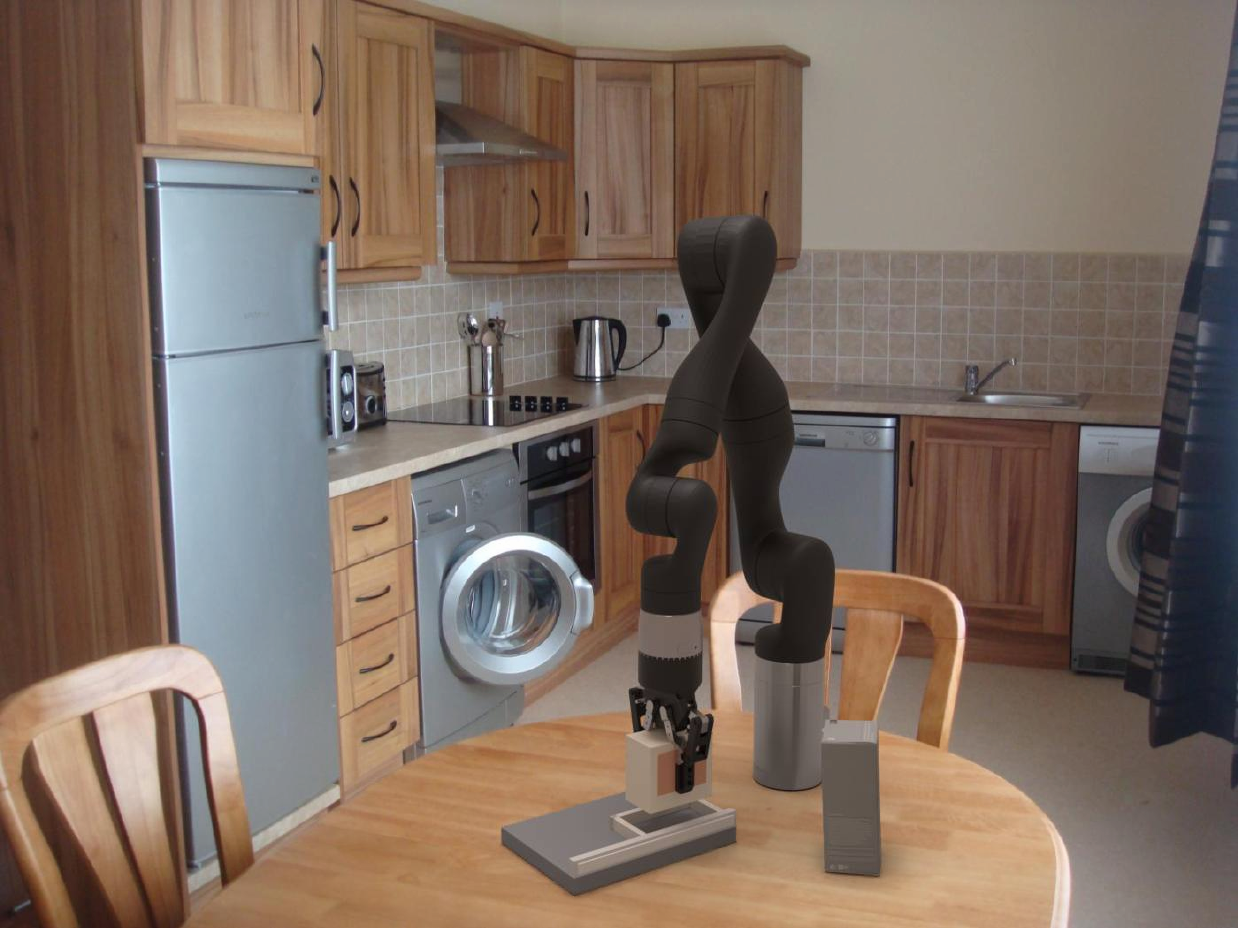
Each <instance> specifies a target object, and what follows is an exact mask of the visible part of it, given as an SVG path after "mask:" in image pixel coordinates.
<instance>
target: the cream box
mask: <svg viewBox="0 0 1238 928" xmlns="http://www.w3.org/2000/svg"><path fill="white" fill-rule="evenodd" d="M686 732H687V729H686V730H685V731H681V732H677V733H676V735H677V736H681V735H685V734H686ZM713 735H714V734H713V731H712V734H711V740H710V746H709V752H708V757H707V759H706V760H703V761H699V762H695V769H694V787H693V790H692V791H691V792H687V793H684V794H679V793H677V792H676V791H675V763H677V762H676V760H675V751H674V745H672V744H671V743H670V742H668V739H667V734H666V731H665V730H664V729H663V728H660V729H656V730H652V731H646V730H644V731H640V732H636V733H634V732H632V733H628V734H625V791H626V800H627V801H629V802H631V803H632V804H634V805H636V806H637V807H639V808H641V809H642V810H644V811H646V812H647V813H649V814H652V813H656V812H659V811H663V810H666V809H670V808H673V807H676V806H680V805H683V804H687V803H690V802H694V801H697V800H701V799H704V800H705V799H707V798H711V797H712V796H713V794H712V791H713V737H714V736H713ZM686 746H687V741H686V742H683V743H682V749H683V753H684V752H686ZM697 750H699V746H698V747H697Z"/></svg>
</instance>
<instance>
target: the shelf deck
mask: <svg viewBox="0 0 1238 928" xmlns="http://www.w3.org/2000/svg"><path fill="white" fill-rule="evenodd" d="M500 831H501V833H500V834H501V839H500V840H501V844H502V845H504V846H505V847H506V848H508V849H509V850H511V851H512V852H513V853H515V854H516V855H517V856H519V857H520V858H522V859H523V860H524V861H526V862H527V863H529V864H530V865H532V866H533V867H534V868H536V870H538V871H539V872H541V873H542V874H544V875H545V876H547V877H548V878H549V879H551V880H552V881H553V882H554V883H556V884H557V885H559V886H560V887H562V888H563V889H564V890H566V891H567V892H568V893H570V894H571V895H572V896H574V897H575V896H577V895H580V894H584V893H586V892H590V891H592V890H596V889H598V888H602V887H604V886H605V887H606V886H608V885H611V884H613V883H616V882H620V881H622V880H623V881H624V880H625V879H629V878H632V877H635V876H638V875H641V874H644V873H647V872H651V871H654V870H656V869H659V868H662V867H665V866H668V865H671V864H674V863H677V862H680V861H683V860H685V859H689V858H692V857H695V856H699V855H701V854H704V853H707V852H710V851H714V850H716V849H719V848H722V847H725V846H728V845H732V844H734V843H737V810H736V809H734V808H733V807H729V808H726V809H722V808H721V807H719V806H716V805H715V804H713V803H711V802H709V801H708V800H705V798H704V799H701V800H697V801H694V802H690V803H687V804H683V805H680V806H676V807H673V808H670V809H666V810H663V811H659V812H656V813H652V814H649V813H647V812H646V811H644V810H642V809H641V808H639V807H637V806H636V805H634V804H632V803H631V802H629V801H627V800H626V790H625V791H622V792H619V793H615V794H611V795H608V796H604V797H601V798H598V799H595V800H591V801H588V802H584V803H580V804H577V805H576V804H575V805H574V806H570V807H569V806H568V807H566V808H563V809H558V810H555V811H553V812H549V813H546V814H543V815H539V816H535V817H532V818H529V819H525V820H521V821H518V822H515V823H510V824H508V825H505V826H501V829H500Z"/></svg>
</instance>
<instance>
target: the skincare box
mask: <svg viewBox="0 0 1238 928" xmlns="http://www.w3.org/2000/svg"><path fill="white" fill-rule="evenodd" d="M879 726H880V725H879V721H878V720H855V719H854V720H852V719H851V720H849V719H847V720H846V719H829V720H825V724H824V728H822V732H823V734H822V740H821V761H822V781H821V792H822V797H821V798H822V826H823V827H822V828H823V852H824V870H825V872H829V873H830V872H831V873H846V874H859V875H868V876H877V877H879V876H880V875H881V867H882V836H881V835H882V834H881V833H882V831H881V829H882V827H881V805H880V804H881V802H880V801H881V800H880V798H881V797H880V753H879V752H880V751H879V749H880V748H879V747H880V743H879V742H880V740H879V737H880V736H879V735H880V734H879V733H880V732H879V731H880V730H879Z"/></svg>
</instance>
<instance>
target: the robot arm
mask: <svg viewBox="0 0 1238 928" xmlns="http://www.w3.org/2000/svg"><path fill="white" fill-rule="evenodd" d="M676 261H677V268H678V274H679V278H680V282H681V285H682V287H683V288H682V289H683V291H684V294H685V298H686V301H687V305H688V307H689V310H690V315H691V316H692V317H691V318H692V319H693V323H694V326H695V329H696V332H697V335H698V338H699V340H698V341H697V342H696V344H695V345H694V346H693V348H692V349H691V350H690V351H689V353H688V354H687V355H686V356H685V358H684V359H683V360H682V362H681V364H680V365H679V367H678V368H677V369H676V371H675V373H674V375H673V377H672V379H671V381H670V384H669V385H668V390H667V392H666V396H665V401H664V405H663V409H662V413H661V417H660V422H659V425H658V430H657V434H656V436H655V438H654V439H653V442H652V443H651V445H650V447H649V449H648V450H647V453H646V454H645V456H644V458H643V460H642V462H641V463H640V465H639V468H638V469H637V471H636V473H635V475H634V477H633V478H632V480H631V482H630V484H629V487H628V489H627V492H626V497H625V503H624V504H625V505H624V506H625V509H624V511H625V516H626V519H627V522H628V523H629V525H630V526H631V528H632V529H633V530H634V531H635V532H638V533H640V534H643V535H648V536H656V537H663V538H672V539H676V545H675V548H674V551H673V552H672V553H666V554H657V555H653V556H651V557H648V558H647V559H645V561H644V562H643V563H642V565H641V569H640V608H639V609H640V610H639V611H640V613H639V618H638V626H637V627H638V628H637V629H638V631H637V633H638V635H637V636H638V638H637V639H638V640H637V645H638V647H637V681H638V682H637V683H638V684H639V685H638V686H634V687H630V688H629V689H628V697H629V698H628V699H629V707H630V715H631V723H632V730H633V732H632V733H636V732H640V731H644V730H646V731H652V730H656V729H660V728H663V729H664V730H665V731H666V734H667V739H668V742H670V743H671V744H672V745H674V751H675V760H676V762H677V763H675V791H676V792H677V793H679V794H684V793H687V792H691V791H692V790H693V787H694V769H695V762H699V761H703V760H706V759H707V757H708V752H709V746H710V740H711V734H712V732H713V728H714V722H715V718H714V716H713V715H712V713H706V714H704V713H702V712H701V711H700V710H698V703H697V700H696V692H697V690H698V689H699V688H700V686H701V685H702V684H703V657H704V655H703V651H704V649H703V646H704V645H703V643H704V642H703V641H704V637H703V635H704V627H703V626H704V625H703V624H704V623H703V619H702V618H703V617H702V574H703V570H704V566H705V562H706V557H707V552H708V549H709V546H710V542H711V539H712V537H713V536H712V535H713V532H714V529H715V526H716V524H717V518H718V513H719V506H718V505H719V503H718V498H717V495H716V494H715V491H714V489H713V488H712V486H711V484H709V483H708V482H707V481H705V480H702V479H699V478H692V477H682V476H677V475H678V473H679V472H680V471H681V470H682V468H684V467H686V466H689V465H693V464H696V463H697V464H698V463H702V462H707V461H709V460H710V459H712V458H713V456H714V454H715V452H716V449H717V446H718V441H719V439H720V438H721V443H722V446H723V450H724V454H725V458H726V464H727V470H728V474H729V479H730V480H729V481H730V484H731V485H730V486H731V491H732V496H733V502H734V507H735V509H734V510H735V516H736V525H737V534H738V537H737V538H738V545H739V546H738V547H739V555H740V557H739V558H740V562H741V568H742V573H743V576H744V579H745V582H746V584H747V586H748V588H749V589H750V590H751V591H752V592H753V593H755V594H756V595H758V596H760V597H762V598H764V599H767V600H771V601H775V602H778V603H782V607H781V615H780V620H779V621H780V622H776V623H772V624H768V625H767V624H766V625H765V626H762V627H761V628H759V629H758V630H757V631H756V633H755V636H754V665H753V666H754V668H753V669H754V670H753V671H754V673H753V675H754V681H753V682H754V683H753V684H754V685H753V688H754V689H753V748H752V749H753V760H752V762H753V763H752V764H753V765H752V766H753V767H752V769H753V770H752V777H753V779H754V780H755V781H756V782H757V783H759V784H761V785H763V786H764V787H768V788H772V789H776V790H784V791H799V790H801V791H802V790H806V789H810V788H813V787H815V786H818V785H820V784H821V783H822V761H821V740H822V734H823V732H822V728H824V724H825V720H831V719H830V717H831V715H830V713H831V712H830V708H829V707H828V706H827V705H825V693H826V692H825V687H826V686H825V685H826V683H825V682H826V646H827V641H828V639H829V636H830V634H831V633H830V632H831V629H832V624H833V623H832V622H833V621H832V620H833V611H834V610H833V609H834V607H833V606H834V596H835V585H836V584H835V583H836V582H835V581H836V565H835V559H834V554H833V552H832V549H831V547H830V546H829V544H828V543H827V542H826V541H824V540H823V539H820V538H818V537H815V536H810V535H805V534H802V533H795V532H793V531H789V530H788V529H787V527H786V525H785V521H784V519H783V513H782V508H781V500H780V487H781V482H782V479H783V476H784V474H785V471H786V468H787V466H788V464H789V462H790V459H791V456H792V453H793V449H794V444H795V433H796V432H795V425H794V420H793V414H792V409H791V405H790V399H789V394H788V390H787V388H786V385H785V383H784V380H783V379H782V377H781V376H780V375H779V372H778V370H777V369H776V368H775V367H774V366H773V364H772V363H771V362H770V361H769V359H768V358H767V356H766V355H765V354H764V353H763V352H762V351H761V350H760V349H759V348H758V346H757V345H756V343H755V342H754V341H753V340H752V338H751V337H750V336H751V335H752V332H753V329H754V327H755V325H756V323H757V320H758V317H759V315H760V313H761V310H762V307H763V305H764V302H765V300H766V298H767V295H768V292H769V289H770V287H771V284H772V281H773V278H774V275H775V271H776V267H777V261H778V241H777V237H776V233H775V231H774V229H773V227H772V225H771V224H770V223H769V222H768V221H767V219H765V218H764V217H762V216H760V215H756V214H737V215H736V214H735V215H734V214H733V215H725V216H724V215H723V216H722V215H721V216H713V217H710V216H709V217H699V218H694V219H690V220H689V221H687V222H686V223H685V224H684V225H683V227H681V229H680V232H679V234H678V237H677V242H676ZM719 436H720V437H719ZM643 716H644V720H643V723H642V720H641V718H642V717H643ZM686 729H687V732H686V734H685V735H681V736H677V735H676V733H677V732H681V731H685V730H686ZM686 741H687V746H686V752H684V753H683V749H682V743H683V742H686ZM698 746H699V750H697V747H698Z"/></svg>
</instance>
